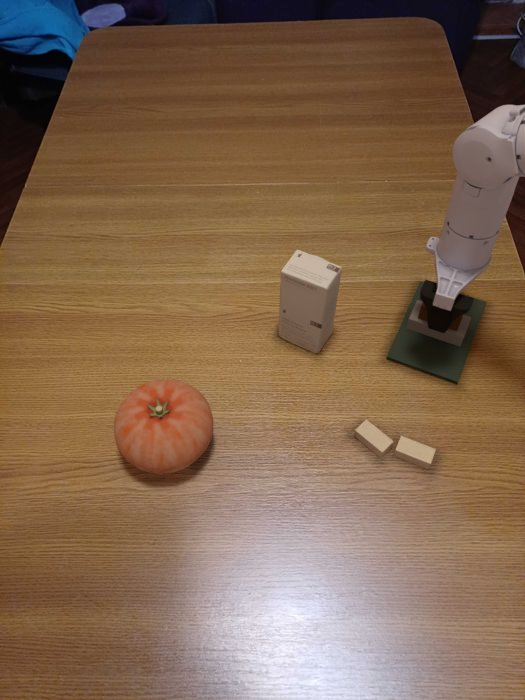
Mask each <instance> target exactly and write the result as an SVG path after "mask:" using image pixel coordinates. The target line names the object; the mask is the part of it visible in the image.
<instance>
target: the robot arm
mask: <svg viewBox="0 0 525 700" xmlns="http://www.w3.org/2000/svg"><path fill="white" fill-rule="evenodd" d="M451 155H452V156H451V158H452V162H453V165H454V168H455V170H456V176H455V180H454V183H453V187H452V191H451V195H450V198H449V202H448V206H447V208H446V212H445V217H444V220H443V225H442V228H441V232H440V234H439V235H440V236H439V237H437V236H431V237H429V238H428V240H427V243H426V245H425V251H426V252H427V253H428V254H432V255H433V257H434V269H435V278H436V281H432V280H428V279H424V281H423V282H424V284H423V286H422V288H421V291H420V299H421V300H422V301H423V303H424V304H425V307H426V311H427V324H428V328H429V329H432V330H435V331H438V332H441V333H445V332H446V331H447V330H448V329H449V328H450V326H451V325H452V323H453V322H454V321H455V319H456V318H458V317H459V316H460V315H462V314H465V313H467V312H468V311H469V310H470V308H471V306H472V303H473V301H474V298H475V297H473V296H469V295H467V294H463V293H462V292H464V290H465V289H466V288H467V287H468V286H470V285H471V284H472V283H473V282H474V281H475V280H476V279H477V278H478V277H480V276H481V275H482V274H483V273H484V272H485V271H487V269H488V268H489V266H490V265H491V262H492V258H493V251H494V248H495V245H496V243H497V240H498V237H499V235H500V232H501V229H502V226H503V225H504V221H505V218H506V215H507V213H508V210H509V207H510V205H511V202H512V199H513V196H514V194H515V191H516V187H517V184H518V182H519V179H520V177H521V178H525V104H520V105H519V104H518V105H516V104H503V105H500V106H498V107H496V108H494V109H493V110H492V111H490V112H489V113H487V114H486V115H485V116H483V117H482V118H480V119H479V120H477V121H476V122H475V123H473V124H472V125H470V126H469V127H467V128H466V129H464V130H463V132H462V133H461V134H459V135H458V137H456V139H455V140H454V143H453V145H452V151H451Z"/></svg>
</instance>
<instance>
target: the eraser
mask: <svg viewBox="0 0 525 700" xmlns="http://www.w3.org/2000/svg"><path fill="white" fill-rule="evenodd" d="M470 320H471V317H469V316H465V315H464V314H462V315H460V316H459V317H458V318H456V319H455V321H454V322H453V323H452V325H451V326H450V328H449V329H448V330H447V331H446V332H445V333H441V332H438V331H435V330H432V329H429V328H428V324H427V311H426V307H425V304H424V303H423V302H422V301H419V300H417V301H416V304H415V306H414V308H413V310H412V313H411V315H410V317H409V320H408V324H407V327H406V329H409V330H412V331H415V332H418V333H421V334H424V335H427V336H430V337H433V338H436V339H439V340H441V341H444V342H447V343H450V344H453V345H456V346H459V347H460V346H461V344H462V341H463V339H464V336H465V333H466V331H467V328H468V325H469V322H470Z"/></svg>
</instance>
